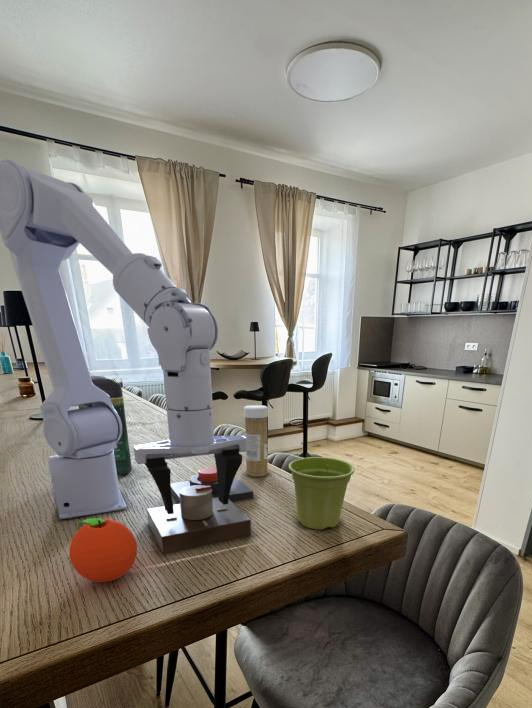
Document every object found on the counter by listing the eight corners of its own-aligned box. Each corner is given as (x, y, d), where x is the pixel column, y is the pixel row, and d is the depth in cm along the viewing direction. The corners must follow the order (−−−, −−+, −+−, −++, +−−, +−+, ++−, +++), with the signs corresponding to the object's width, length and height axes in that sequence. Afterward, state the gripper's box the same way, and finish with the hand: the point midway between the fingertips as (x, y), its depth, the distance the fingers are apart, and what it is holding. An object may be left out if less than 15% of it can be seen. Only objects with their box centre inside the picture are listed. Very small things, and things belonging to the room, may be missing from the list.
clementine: (56, 579, 46) (43, 522, 44) (108, 554, 52) (100, 501, 49) (101, 602, 42) (90, 540, 40) (153, 572, 48) (146, 516, 45)
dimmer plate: (163, 554, 52) (161, 535, 51) (148, 524, 60) (146, 507, 59) (251, 536, 57) (250, 518, 56) (226, 510, 65) (225, 494, 64)
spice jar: (272, 474, 83) (272, 406, 78) (255, 479, 80) (254, 409, 75) (257, 469, 86) (257, 403, 81) (240, 473, 83) (238, 406, 78)
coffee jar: (137, 475, 81) (124, 377, 74) (94, 481, 77) (77, 379, 70) (125, 462, 89) (113, 373, 82) (86, 468, 85) (70, 374, 78)
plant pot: (355, 514, 64) (359, 460, 61) (343, 540, 56) (348, 479, 53) (298, 506, 67) (299, 454, 64) (278, 529, 59) (279, 471, 56)
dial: (185, 522, 55) (183, 495, 53) (177, 510, 58) (175, 485, 57) (217, 516, 57) (216, 490, 55) (207, 505, 60) (206, 481, 59)
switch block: (183, 510, 65) (182, 492, 64) (169, 490, 73) (167, 474, 72) (253, 498, 70) (253, 481, 69) (232, 481, 78) (231, 466, 77)
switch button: (202, 484, 68) (201, 474, 68) (196, 478, 71) (195, 468, 71) (223, 481, 70) (222, 472, 69) (216, 475, 73) (215, 466, 72)
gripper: (135, 416, 46) (148, 527, 51) (254, 408, 52) (256, 507, 57) (126, 407, 51) (139, 507, 56) (234, 400, 58) (237, 491, 63)
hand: (197, 506), depth 57 cm, fingers open, 7 cm apart
